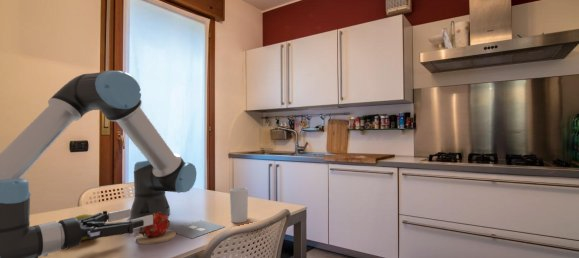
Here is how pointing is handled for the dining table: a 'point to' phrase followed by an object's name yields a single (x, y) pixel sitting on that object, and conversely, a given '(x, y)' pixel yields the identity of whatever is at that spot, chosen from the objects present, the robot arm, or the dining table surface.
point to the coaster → (156, 238)
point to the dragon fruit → (156, 225)
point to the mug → (239, 204)
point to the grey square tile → (196, 229)
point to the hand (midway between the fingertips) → (140, 215)
